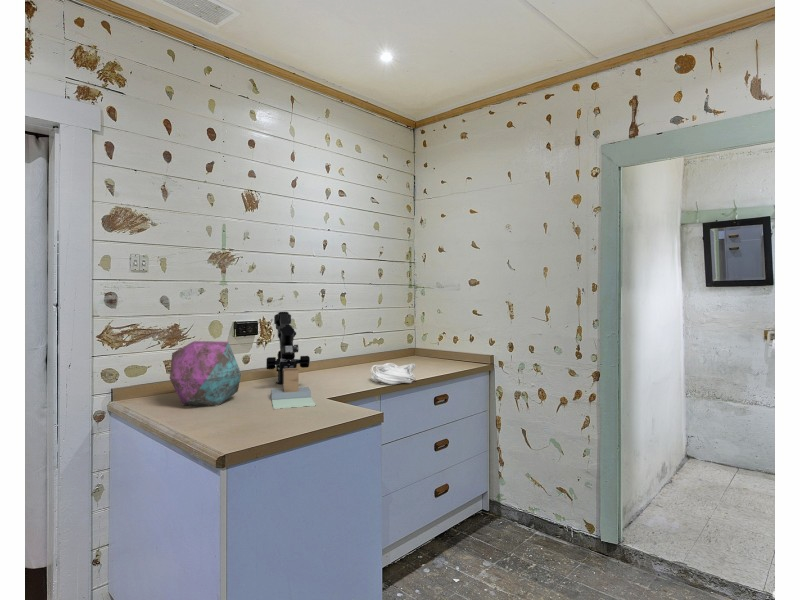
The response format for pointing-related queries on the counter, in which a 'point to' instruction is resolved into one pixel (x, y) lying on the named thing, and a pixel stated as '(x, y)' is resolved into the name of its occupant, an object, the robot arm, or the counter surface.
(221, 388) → the decorative object
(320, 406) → the counter surface
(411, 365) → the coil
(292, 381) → the block
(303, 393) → the plate
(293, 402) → the mat
